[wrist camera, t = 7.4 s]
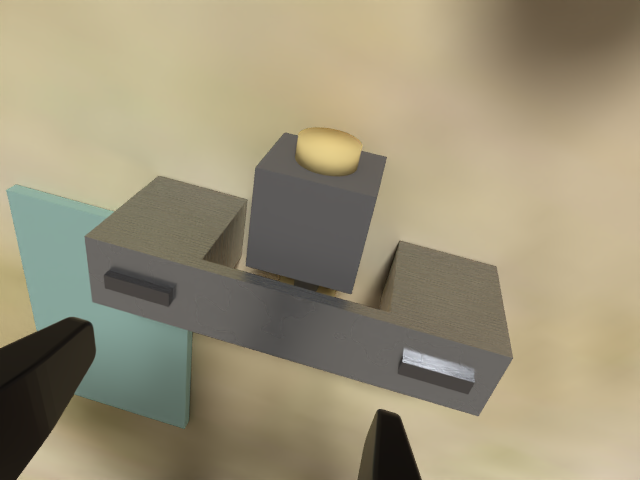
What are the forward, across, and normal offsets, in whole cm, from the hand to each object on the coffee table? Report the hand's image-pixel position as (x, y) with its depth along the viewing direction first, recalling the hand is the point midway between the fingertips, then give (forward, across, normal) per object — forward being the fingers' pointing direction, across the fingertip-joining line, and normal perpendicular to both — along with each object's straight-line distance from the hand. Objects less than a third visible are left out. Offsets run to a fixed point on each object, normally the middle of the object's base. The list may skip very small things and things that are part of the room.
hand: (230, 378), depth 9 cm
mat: (+11, +10, +12) cm, 19 cm away
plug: (+11, 0, +3) cm, 11 cm away
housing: (+11, 0, +4) cm, 12 cm away
